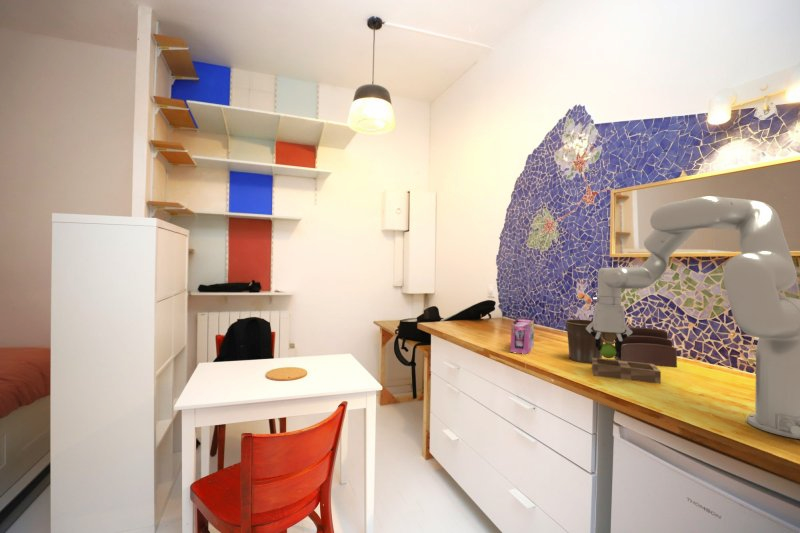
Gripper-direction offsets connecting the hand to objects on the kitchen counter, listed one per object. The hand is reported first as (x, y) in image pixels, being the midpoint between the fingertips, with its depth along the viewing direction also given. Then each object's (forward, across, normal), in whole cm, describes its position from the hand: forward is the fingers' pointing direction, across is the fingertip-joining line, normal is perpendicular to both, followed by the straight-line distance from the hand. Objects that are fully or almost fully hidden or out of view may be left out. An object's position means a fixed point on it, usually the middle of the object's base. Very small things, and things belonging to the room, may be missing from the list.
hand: (608, 350), depth 136 cm
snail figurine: (+3, -1, 0) cm, 3 cm away
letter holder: (+9, +15, +28) cm, 33 cm away
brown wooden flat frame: (+8, +5, 0) cm, 10 cm away
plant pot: (+9, -7, +19) cm, 22 cm away
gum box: (+9, -33, +28) cm, 45 cm away
